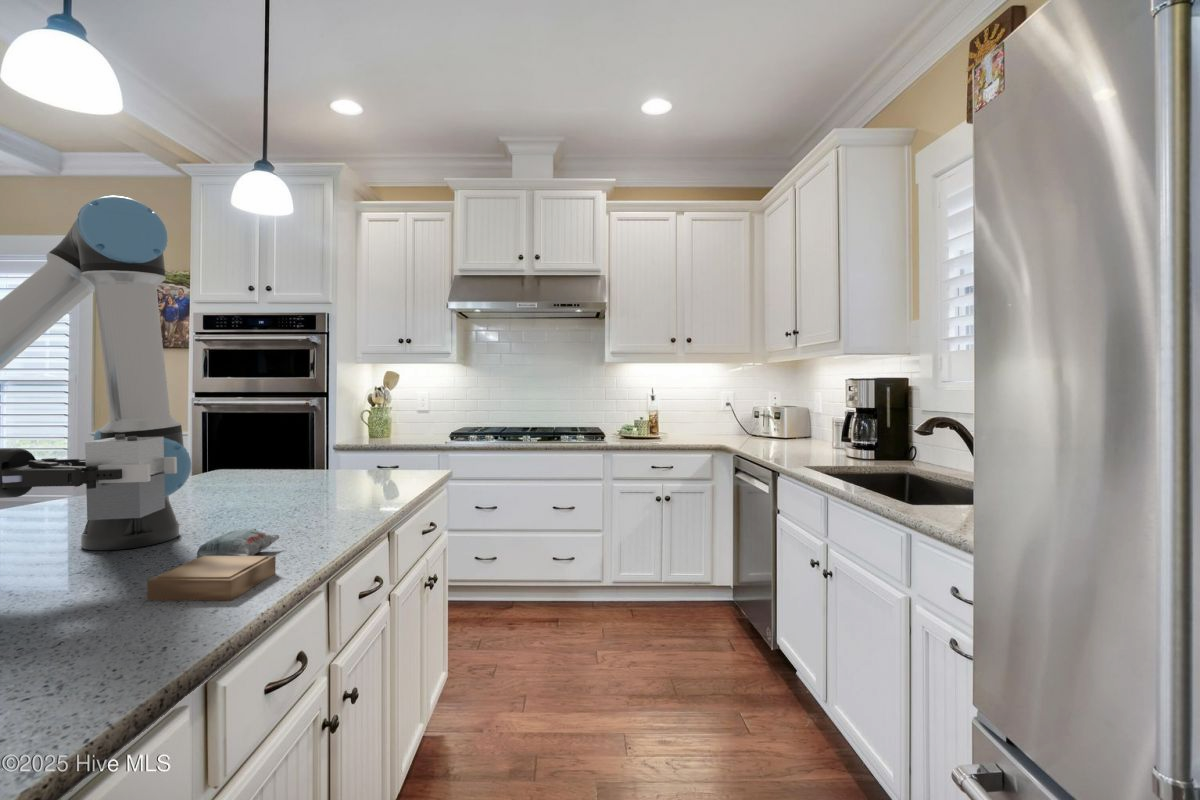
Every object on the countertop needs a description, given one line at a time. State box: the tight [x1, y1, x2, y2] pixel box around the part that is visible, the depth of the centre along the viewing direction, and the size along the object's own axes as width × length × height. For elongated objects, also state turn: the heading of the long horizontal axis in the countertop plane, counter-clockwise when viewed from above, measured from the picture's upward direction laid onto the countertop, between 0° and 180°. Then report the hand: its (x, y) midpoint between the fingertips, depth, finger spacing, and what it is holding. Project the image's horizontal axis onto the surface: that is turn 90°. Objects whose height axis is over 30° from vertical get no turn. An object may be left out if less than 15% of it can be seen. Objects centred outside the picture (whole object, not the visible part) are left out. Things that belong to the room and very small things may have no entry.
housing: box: [84, 434, 165, 521], centre depth 88 cm, size 7×7×13 cm
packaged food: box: [196, 528, 280, 559], centre depth 102 cm, size 9×12×5 cm
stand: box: [146, 555, 277, 602], centre depth 87 cm, size 12×12×3 cm
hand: (162, 468), depth 89 cm, fingers closed on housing, 7 cm apart
